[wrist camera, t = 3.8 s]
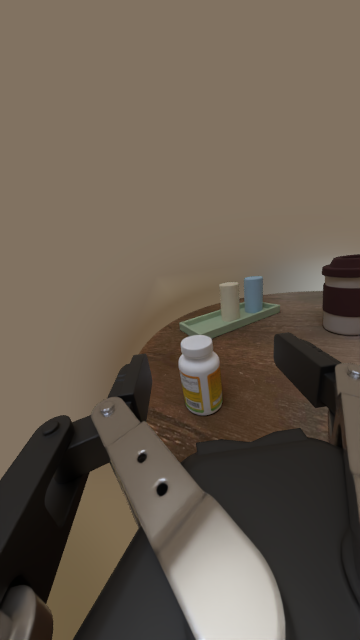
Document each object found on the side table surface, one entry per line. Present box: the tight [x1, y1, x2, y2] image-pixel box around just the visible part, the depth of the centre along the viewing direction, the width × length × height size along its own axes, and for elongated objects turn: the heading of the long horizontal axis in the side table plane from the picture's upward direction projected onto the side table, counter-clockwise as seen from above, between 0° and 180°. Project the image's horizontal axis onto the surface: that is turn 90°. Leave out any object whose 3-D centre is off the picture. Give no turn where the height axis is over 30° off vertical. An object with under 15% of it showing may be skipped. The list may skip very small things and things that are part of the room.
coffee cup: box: [322, 254, 360, 335], centre depth 38 cm, size 10×10×15 cm
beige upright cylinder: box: [219, 282, 240, 322], centre depth 51 cm, size 5×5×10 cm
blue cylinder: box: [244, 276, 263, 313], centre depth 55 cm, size 5×5×10 cm
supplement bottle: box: [179, 335, 222, 415], centre depth 25 cm, size 5×5×10 cm
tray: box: [179, 302, 280, 339], centre depth 53 cm, size 28×11×2 cm, turn 117°
